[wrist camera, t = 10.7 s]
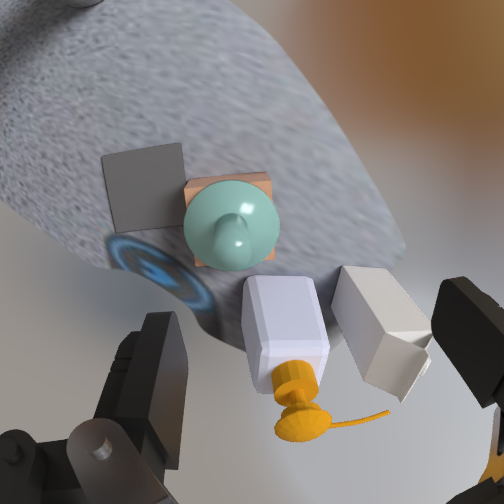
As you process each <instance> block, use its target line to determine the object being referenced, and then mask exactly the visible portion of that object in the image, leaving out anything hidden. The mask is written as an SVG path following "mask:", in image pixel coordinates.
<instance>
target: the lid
mask: <svg viewBox="0 0 504 504" xmlns="http://www.w3.org/2000/svg"><path fill="white" fill-rule="evenodd" d="M279 226H280V224H279V217H278V213H277V211H276V208H275V206H274V204H273V202H272V201H271V199H270V198H269V196H268V195H267V194H266V193H265V192H264V191H263V190H261V189H260V188H259V187H257V186H255V185H253V184H251V183H249V182H246V181H242V180H234V179H230V180H221V181H218V182H214V183H212V184H210V185H208V186H206V187H205V188H203V189H202V190H201V191H200V192H198V193H197V195H196V196H195V197H194V198H193V200H192V201H191V203H190V205H189V207H188V209H187V211H186V214H185V218H184V235H185V239H186V242H187V244H188V246H189V248H190V250H191V251H192V253H193V254H194V255H195V256H196V257H197V258H198V259H199V260H200V261H201V262H203V263H204V264H206V265H208V266H210V267H212V268H215V269H218V270H222V271H241V270H245V269H248V268H251V267H253V266H255V265H257V264H259V263H260V262H261V261H263V260H264V259H265V258H266V257H267V256H268V255H269V254H270V253H271V251H272V250H273V248H274V246H275V244H276V242H277V239H278V236H279Z"/></svg>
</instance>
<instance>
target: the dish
mask: <svg viewBox="0 0 504 504" xmlns="http://www.w3.org/2000/svg"><path fill="white" fill-rule="evenodd" d="M230 179H234V180H242V181H246V182H249V183H251V184H253V185H255V186H257V187H259V188H260V189H261V190H263V191H264V192H265V193H266V194H267V195H268V196H269V198H270V199H271V201H272V187H271V179H270V178H269V176H268V174H267V172H255V173H244V174H233V175H223V176H213V177H204V178H195V179H190V180H189V181H188V183H187V185H186V186H185V188H184V193H185V200H186V207H187V209H188V207H189V205H190V203H191V201H192V200H193V198H194V197H195V196H196V195H197V193H198V192H200V191H201V190H202V189H203V188H205V187H206V186H208V185H210V184H212V183H214V182H218V181H221V180H230ZM194 258H195V264H196V267H197V266H208V265H206V264H204V263H203V262H201V261H200V260H199V259H198V258H197V257H196V256H195V255H194ZM272 259H275V246H274V248H273V250H272V251H271V253H270V254H269V255H268V256H267V257H266V258H265V259H264V260H272Z"/></svg>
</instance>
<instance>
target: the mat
mask: <svg viewBox="0 0 504 504" xmlns="http://www.w3.org/2000/svg"><path fill="white" fill-rule="evenodd" d="M102 162H103V168H104V174H105V179H106V185H107V190H108V195H109V200H110V205H111V210H112V215H113V219H114V224H115V228H116V233H119V232H127V231H135V230H143V229H152V228H161V227H170V226H179V225H184V218H185V214H186V211H187V207H186V200H185V193H184V188H185V186H186V178H185V170H184V162H183V154H182V145H181V143H174V144H167V145H160V146H154V147H148V148H142V149H136V150H131V151H125V152H120V153H115V154H110V155H105V156H102Z"/></svg>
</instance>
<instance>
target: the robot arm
mask: <svg viewBox="0 0 504 504" xmlns="http://www.w3.org/2000/svg"><path fill="white" fill-rule="evenodd" d="M60 1H61V2H63V3H65V4H67V5H69V6H71V7H75V8H85V7H89V6H92V5H94V4H97V3H99V2H100V1H102V0H60ZM431 331H432V335H433V337H434V338H435V340H436V341H437V343H438V344H439V345H440V347H441V348H442V350H443V351H444V352H445V354H446V355H447V357H448V358H449V359H450V361H451V362H452V364H453V365H454V366H455V368H456V369H457V371H458V372H459V374H460V375H461V377H462V378H463V380H464V381H465V383H466V384H467V386H468V387H469V389H470V390H471V392H472V393H473V395H474V396H475V398H476V399H477V401H478V402H479V404H480V405H481V407H482V408H485V407H487V406H489V405H491V404H493V403H495V402H496V403H497V404H498V407H497V408H496V410H495V413H494V420H493V431H492V440H491V448H490V455H489V461H488V464H487V467H486V469H485V471H484V473H483V474H482V476H481V478H480V480H479V482H478V484H477V485H475V486H473V487H472V488H470V489H468V490H466V491H464V492H462V493H460V494H458V495H456V496H455V497H453V498H452V499H451V500H450V501H449V502H447V503H446V504H504V309H503V308H502V307H499V304H498V303H497V302H496V301H495V300H494V299H492V298H491V297H490V296H489V295H487V294H485V293H483V292H482V291H481V290H480V289H478V287H476V286H475V285H474V284H473V283H472V282H471V281H470V280H469V279H468V278H466V277H464V276H462V277H456V278H451V279H446V280H443V281H442V283H441V285H440V288H439V293H438V296H437V300H436V304H435V308H434V312H433V316H432V319H431ZM110 371H111V372H109V374H108V377H107V380H106V383H105V385H104V388H103V391H102V394H101V397H100V400H99V402H98V405H97V409H96V411H95V414H94V417H93V419H90V420H87V421H85V422H83V423H81V424H80V425H79V426H77V427H76V428H75V429H74V430H73V431H72V433H71V434H70V436H69V438H68V439H65V440H58V441H50V442H42V443H36V442H35V440H33V438H32V437H31V436H30V435H29V434H28V433H26V432H25V431H22V430H18V429H14V430H9V431H6V432H4V433H3V434H1V435H0V504H179V503H178V502H177V501H176V500H175V499H174V497H173V496H172V495H171V493H170V492H169V491H168V489H167V488H166V487H165V486H164V484H163V483H164V473H165V469H171V470H178V466H179V454H180V442H181V433H182V422H183V413H184V403H185V395H186V386H187V378H188V359H187V353H186V349H185V346H184V342H183V338H182V334H181V330H180V326H179V323H178V319H177V316H176V313H175V312H174V311H172V312H155V313H148V314H147V315H146V318H145V320H144V323H143V326H142V329H141V331H134V332H131V333H130V334H129V335H128V336H127V337H126V338H125V339H124V340H123V341H122V342H121V343H120V345H119V347H118V350H117V353H116V355H115V361H113V363H112V366H111V369H110Z"/></svg>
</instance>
